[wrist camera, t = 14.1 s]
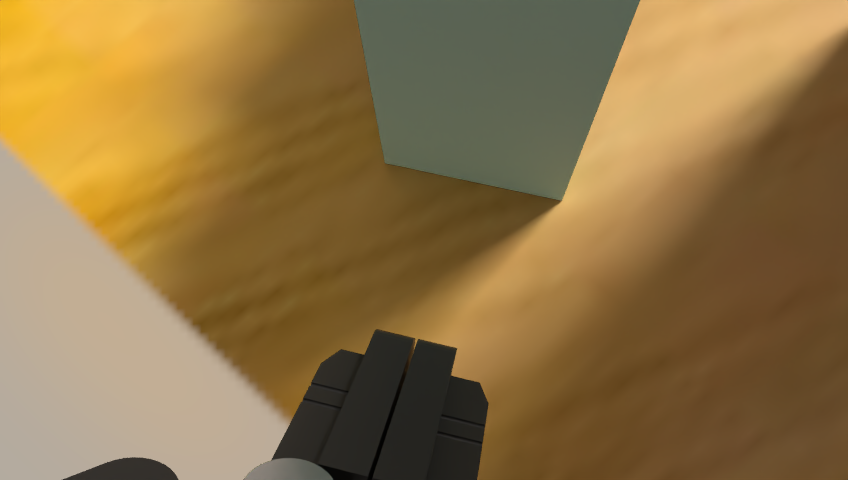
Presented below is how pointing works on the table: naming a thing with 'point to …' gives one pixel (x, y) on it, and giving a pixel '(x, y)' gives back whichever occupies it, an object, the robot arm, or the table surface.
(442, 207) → the table surface
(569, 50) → the teal domino
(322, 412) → the robot arm
